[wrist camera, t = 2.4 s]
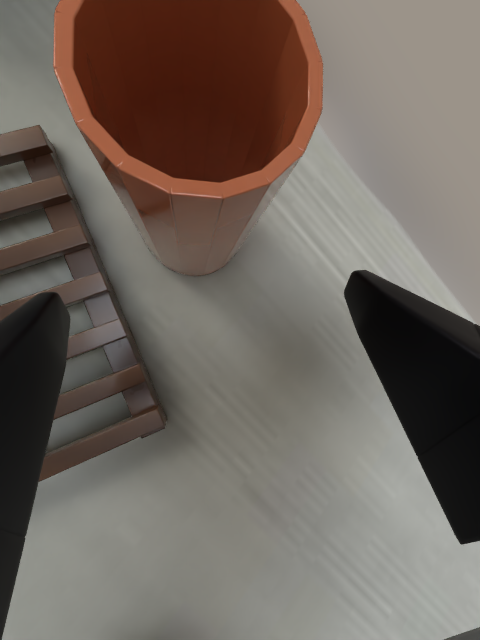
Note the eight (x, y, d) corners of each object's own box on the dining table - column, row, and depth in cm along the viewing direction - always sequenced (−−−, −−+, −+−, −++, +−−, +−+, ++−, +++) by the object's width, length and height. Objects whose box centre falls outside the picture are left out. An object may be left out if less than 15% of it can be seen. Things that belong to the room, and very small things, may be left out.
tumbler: (254, 257, 21) (356, 156, 8) (165, 289, 20) (119, 232, 7) (220, 167, 20) (271, -89, 8) (127, 195, 19) (4, -51, 6)
